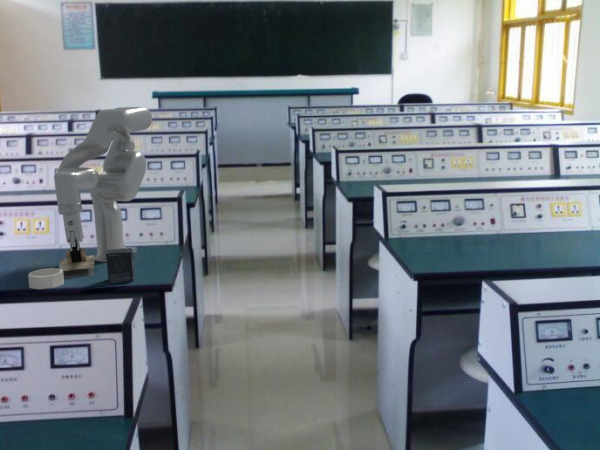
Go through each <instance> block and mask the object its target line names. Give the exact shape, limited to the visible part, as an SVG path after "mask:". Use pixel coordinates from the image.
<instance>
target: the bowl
mask: <svg viewBox="0 0 600 450" xmlns="http://www.w3.org/2000/svg"><path fill="white" fill-rule="evenodd" d="M27 276H28V279H27V280H28V285H29V289H35V290H49V289H54V288H57V287H60V286H63V285H64V283H65V278H64V275H63V269H59V268H55V267H51V268H49V267H48V268H41V269H37V270H33V271H30V272H28V275H27Z"/></svg>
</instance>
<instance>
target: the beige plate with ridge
mask: <svg viewBox="0 0 600 450" xmlns="http://www.w3.org/2000/svg"><path fill="white" fill-rule="evenodd" d="M79 250H80V251H81V259H82V261H81V262H74V263H72V260H71V253H70V251H71V249H67V250H65V256H66V258H60V261H59V265H58V269H63V271H68V270H77V269H85V268H94V269H95V260H94V256H95V255H94V254H92V255H91V254H90V255H86V248H84V247H83V248H81V249H79Z"/></svg>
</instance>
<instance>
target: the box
mask: <svg viewBox="0 0 600 450" xmlns="http://www.w3.org/2000/svg"><path fill="white" fill-rule="evenodd" d="M106 259H107V262H106V265H107V266H106V267H107V269H106V270H107V277H108V278H107V280H108V284H115V283H117V284H120V283H131V282H134V280H135V278H136V275H135V261H134V253H133V249H132V248H125V249H110V250H108V251H107V253H106Z"/></svg>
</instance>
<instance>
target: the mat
mask: <svg viewBox="0 0 600 450" xmlns="http://www.w3.org/2000/svg"><path fill="white" fill-rule="evenodd" d="M94 274H95V267H94V268H85V269H77V270H68V271H63V275H64V279H67V278H69V279H70V278H79V277H80V278H81V277H88V276H94Z"/></svg>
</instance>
